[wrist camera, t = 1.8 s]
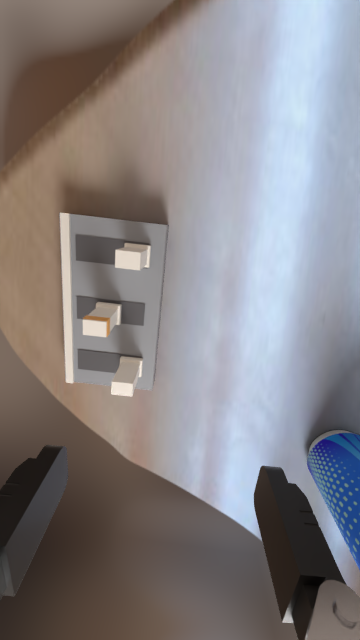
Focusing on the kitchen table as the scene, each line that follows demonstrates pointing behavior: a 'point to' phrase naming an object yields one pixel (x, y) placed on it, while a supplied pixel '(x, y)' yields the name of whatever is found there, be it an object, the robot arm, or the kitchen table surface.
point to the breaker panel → (112, 299)
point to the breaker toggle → (102, 319)
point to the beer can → (339, 481)
